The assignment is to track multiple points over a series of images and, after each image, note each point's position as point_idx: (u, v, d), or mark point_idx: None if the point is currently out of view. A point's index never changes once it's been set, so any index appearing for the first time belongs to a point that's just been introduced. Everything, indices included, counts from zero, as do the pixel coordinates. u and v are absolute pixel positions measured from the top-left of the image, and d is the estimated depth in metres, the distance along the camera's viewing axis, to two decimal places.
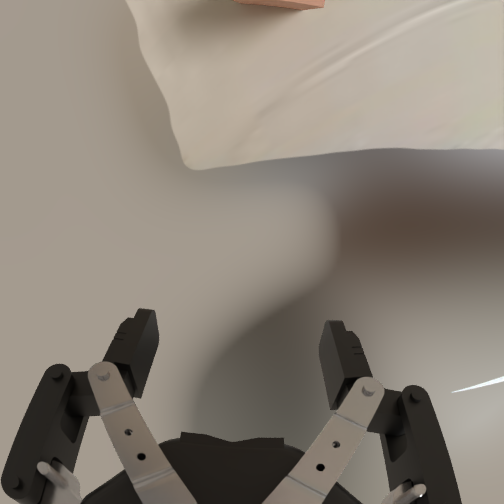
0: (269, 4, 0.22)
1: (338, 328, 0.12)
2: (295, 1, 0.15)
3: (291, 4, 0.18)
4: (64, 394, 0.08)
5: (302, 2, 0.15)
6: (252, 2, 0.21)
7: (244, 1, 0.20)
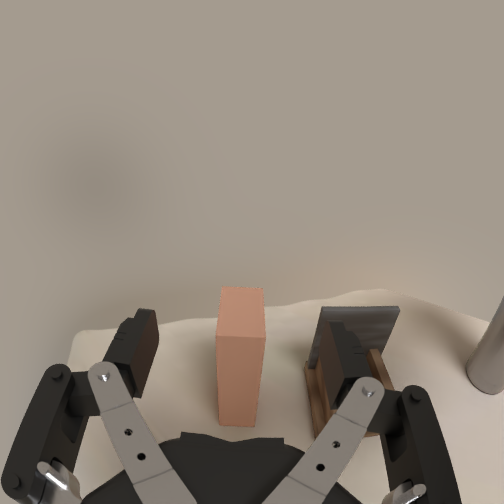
0: None
1: (338, 328, 0.12)
2: (218, 320, 0.25)
3: None
4: (64, 394, 0.08)
5: (218, 323, 0.25)
6: None
7: None
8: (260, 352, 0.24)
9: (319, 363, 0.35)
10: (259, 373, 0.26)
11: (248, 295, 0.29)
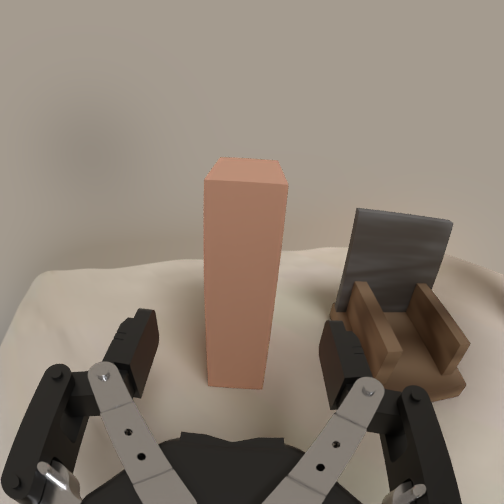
0: None
1: (338, 328, 0.12)
2: (211, 172, 0.16)
3: None
4: (64, 394, 0.08)
5: (210, 173, 0.15)
6: None
7: None
8: (278, 219, 0.15)
9: (353, 299, 0.26)
10: (275, 269, 0.16)
11: (257, 162, 0.19)
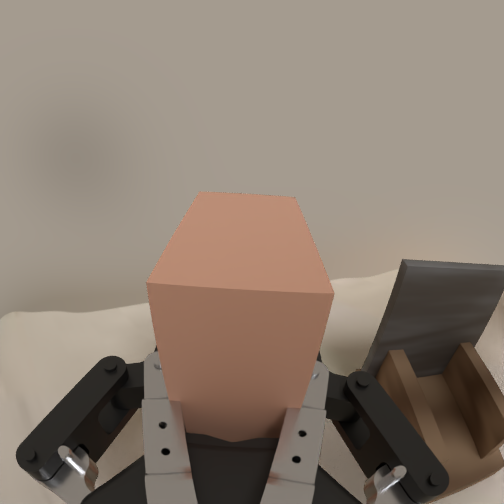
0: None
1: None
2: (171, 244, 0.08)
3: None
4: (111, 388, 0.09)
5: (167, 252, 0.07)
6: None
7: None
8: (306, 352, 0.07)
9: (386, 373, 0.18)
10: None
11: (262, 204, 0.11)
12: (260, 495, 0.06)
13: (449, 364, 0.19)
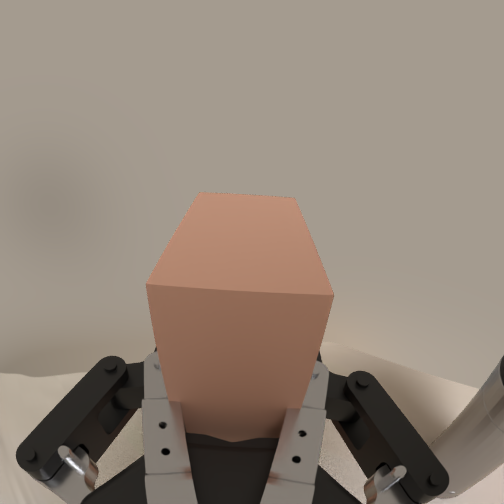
0: None
1: None
2: (170, 245, 0.08)
3: None
4: (112, 388, 0.09)
5: (166, 253, 0.07)
6: None
7: None
8: (306, 354, 0.07)
9: None
10: None
11: (261, 205, 0.11)
12: (260, 495, 0.06)
13: None
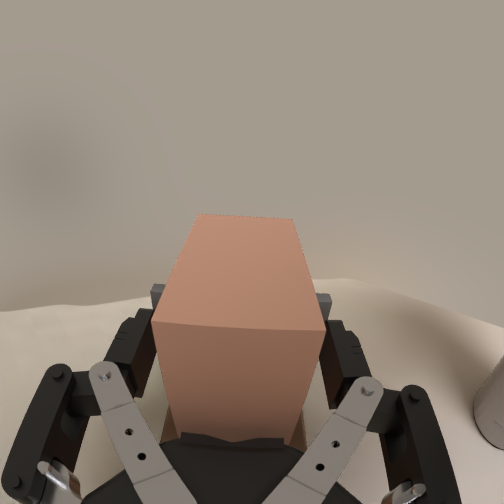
0: None
1: (337, 328, 0.12)
2: (172, 277, 0.08)
3: None
4: (65, 394, 0.08)
5: (168, 286, 0.08)
6: None
7: None
8: (300, 379, 0.07)
9: None
10: (289, 429, 0.09)
11: (259, 229, 0.12)
12: (273, 492, 0.06)
13: None
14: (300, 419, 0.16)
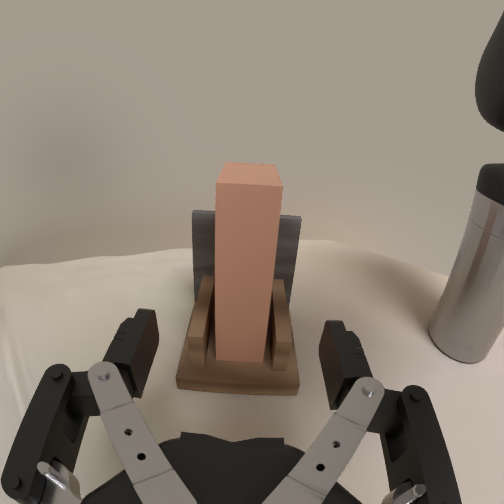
0: None
1: (338, 328, 0.12)
2: (220, 176, 0.19)
3: None
4: (64, 395, 0.08)
5: (219, 177, 0.19)
6: None
7: None
8: (275, 214, 0.19)
9: None
10: (273, 255, 0.20)
11: (257, 166, 0.23)
12: (273, 492, 0.06)
13: None
14: (285, 299, 0.27)
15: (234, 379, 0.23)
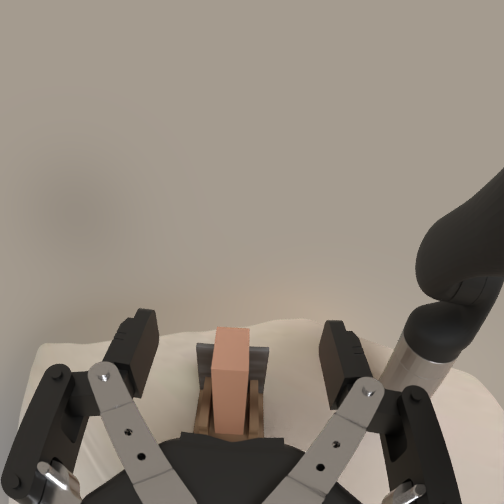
0: None
1: (338, 328, 0.12)
2: (213, 356, 0.32)
3: None
4: (64, 394, 0.08)
5: (213, 359, 0.32)
6: None
7: None
8: (245, 381, 0.31)
9: None
10: (245, 395, 0.32)
11: (237, 335, 0.35)
12: (273, 492, 0.06)
13: (249, 388, 0.44)
14: (257, 398, 0.40)
15: None
